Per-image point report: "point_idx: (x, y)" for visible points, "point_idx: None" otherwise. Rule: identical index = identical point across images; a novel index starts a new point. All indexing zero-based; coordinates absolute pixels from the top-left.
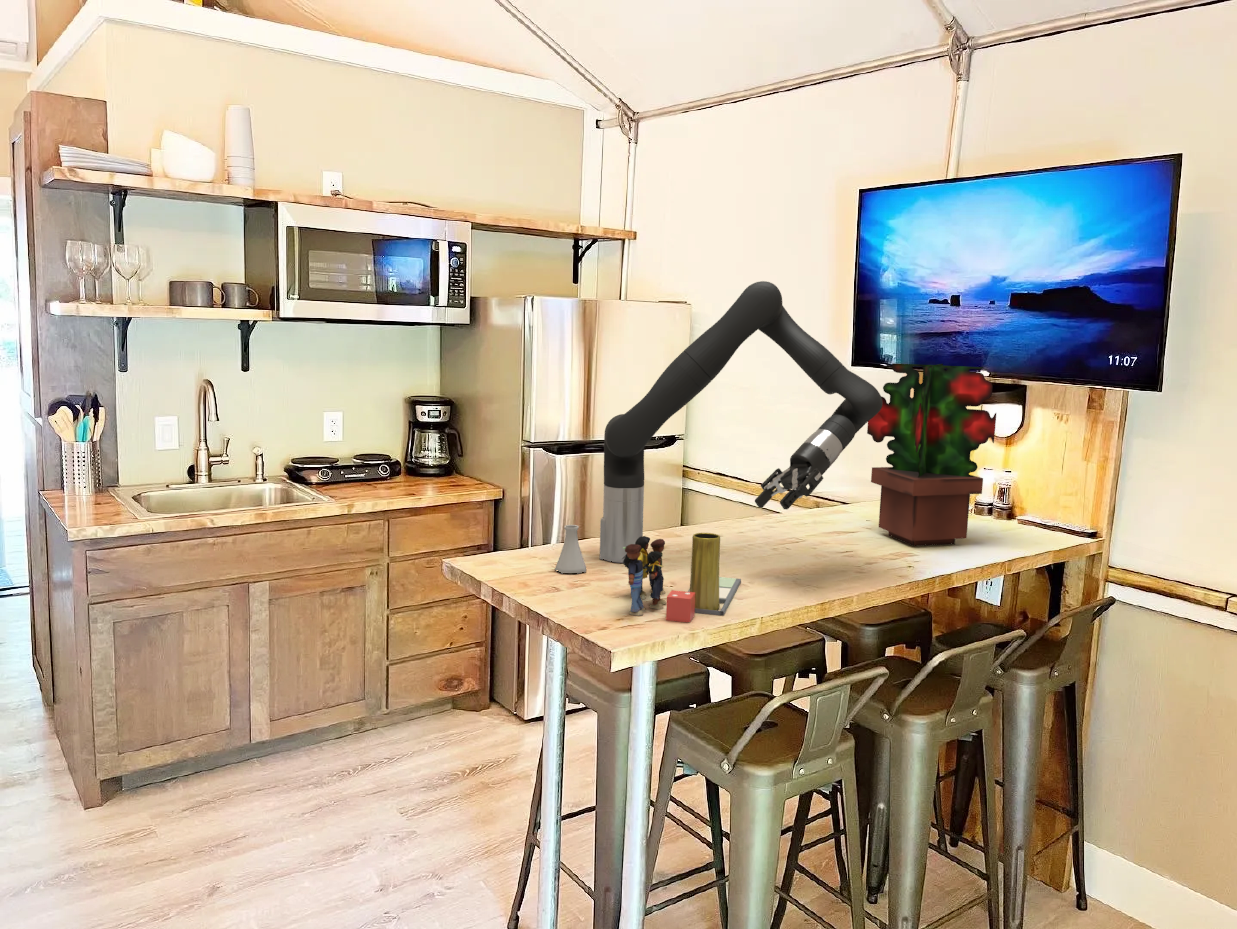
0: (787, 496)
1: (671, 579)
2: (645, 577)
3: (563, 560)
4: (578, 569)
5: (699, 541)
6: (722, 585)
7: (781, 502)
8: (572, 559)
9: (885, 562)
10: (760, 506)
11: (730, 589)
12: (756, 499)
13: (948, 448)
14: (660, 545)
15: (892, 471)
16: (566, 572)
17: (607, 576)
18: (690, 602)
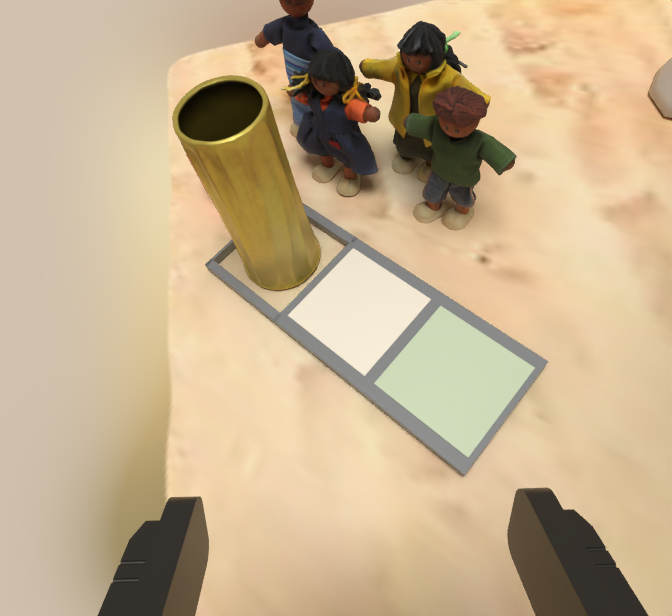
0: (145, 567)
1: (555, 287)
2: (398, 131)
3: None
4: (662, 93)
5: (208, 93)
6: (403, 367)
7: (177, 497)
8: None
9: None
10: (509, 530)
11: (356, 369)
12: (537, 494)
13: None
14: (433, 105)
15: None
16: (655, 77)
17: (620, 153)
18: (189, 160)
